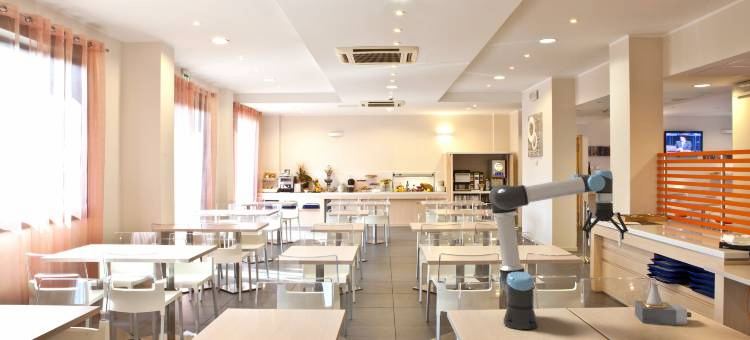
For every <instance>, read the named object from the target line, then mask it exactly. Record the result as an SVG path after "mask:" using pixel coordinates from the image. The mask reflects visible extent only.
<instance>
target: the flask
mask: <svg viewBox="0 0 750 340" xmlns="http://www.w3.org/2000/svg"><path fill="white" fill-rule="evenodd" d="M650 286H651V288H650V292H649V294H648V297H647V300H646V301H647V302H646V303H647V304H649V305H656V306H662V305H663V303H662V302H663V301H662V298H661V296H660V293H659V288H658V287H659V283H658V282H650Z"/></svg>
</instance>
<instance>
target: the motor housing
mask: <svg viewBox="0 0 750 340" xmlns="http://www.w3.org/2000/svg"><path fill="white" fill-rule="evenodd" d="M646 302H647V300H634V315H635V317H636V318H637V319H638V320H639V321H640V322H641V323H642V324H652V325H667V326H677V325H681V324H687V325H688V318H692V312H690V311H688V309H687V308H685V307H684V306H683V305H682V304H680V303H668V302H667V301H666V302H665V301H662V303H663V305H662V306H656V305H649V304H647V303H646Z"/></svg>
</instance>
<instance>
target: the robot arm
mask: <svg viewBox="0 0 750 340" xmlns="http://www.w3.org/2000/svg"><path fill="white" fill-rule="evenodd" d="M613 177H614V176H613V171H611V170H596V171H595V174H572V175H570V177H569V178H566V179H562V180H555V181H549V182H545V183H539V184H533V185H528V186H526V185H524V184H521V185H506V184H499V185H495V186H494V187H493V188H492V189H491V190H490V192H489V196H488V198H489V199H488V200H489V203H490V204H491V211H492V212H491V213H492V214H493V215H494V216H495V219H496V226H497V227H496V228H497V234H498V242H499V249H500V257H501V266H500V267H499V286H500V287H501V289H502V290H503V291H504V292H505V293H506V294H507V295H506V299H507V303H506V304H507V305H506V307H507V308H506V311H505V313H504V317H503V325H504V324H505V325H507V326H509V327H511V328H510V329H513V328H515V329H514V330H519V329H531V330H535V329H537V328H538V318H537V315H536V312H535V310H534V309H535V308H534V303H535V302H534V285H535V282H534V277H533V276H532V275H531V274H530V273H527V272H525V268H524V267H525V266H524V265H523V264H522V263H521V259H520V252H519V244H518V237H517V236H518V235H517V227H516V221H515V214H516V213H517V211H518V210H517V208H520V207H526V206H528V205H529V204H531V203H535V202H541V201H545V200H551V199H556V198H562V197H569V196H573V195H578V194H583V193H584V194H585V193H589V192H591V193H592V192H595V201H596V203H595V212H592V211H588V216H587V217H586V220H585V222H584V224H583V225H582V228H581V230H582V231H583V232H585V238H586V239H587V241H588V242H587V243H588V244H587V245H588V246H589V247H591V246H592V233H591V230H592V229H593V228H594V227H595V226H596V225H597V224H598V223H599V222H610V223H612V224H613V225H614V228H616V229H617V230H618V231H619V232H618V247H620V248H622V241H623V240H625V238H624V237H625V236H624V235H625V233H628V232H629V229H628V227H627V226H626V224H625V222H624V220H623V218H622V217H621V212H619V211H618V212H617V211H616V212H614V203H613V202H614V198H613V197H614V195H613V192H614V190H613V188H614V187H613V186H614V185H613V183H614V181H613V180H614V179H613ZM594 216H595V217H596V218H595V219H594V220H593V221H592V223H590V222H591V220H592V218H593V217H594ZM614 216H615V217H616V218H617V220H618V222H619V224H620V225H621V226H620V225H619V224H618V223H617V222H616V221H615V219H613V217H614ZM589 223H590V225H589ZM505 325H504V326H505ZM507 326H506V327H507ZM509 327H508V328H509Z"/></svg>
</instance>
